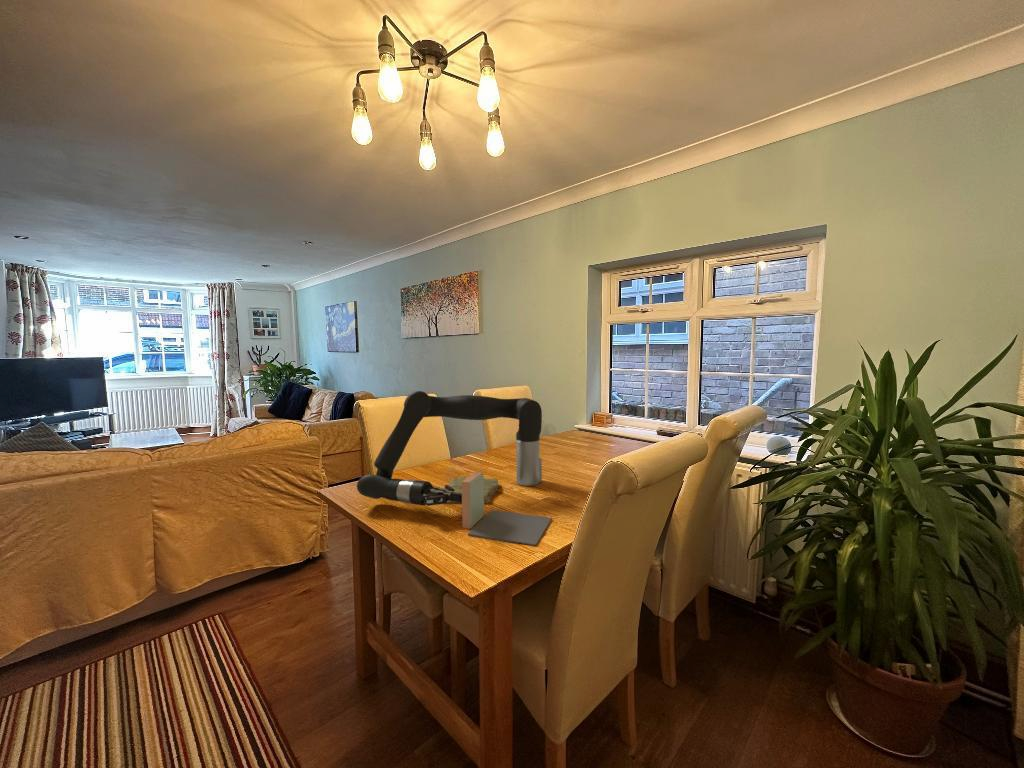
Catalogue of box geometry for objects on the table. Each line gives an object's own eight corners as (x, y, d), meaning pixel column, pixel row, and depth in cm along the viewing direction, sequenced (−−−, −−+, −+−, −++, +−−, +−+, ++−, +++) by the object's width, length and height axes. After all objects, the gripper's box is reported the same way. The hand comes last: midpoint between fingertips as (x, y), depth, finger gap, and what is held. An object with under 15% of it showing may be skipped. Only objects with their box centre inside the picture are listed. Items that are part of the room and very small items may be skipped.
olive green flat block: (439, 503, 139) (439, 493, 139) (453, 484, 159) (453, 475, 159) (492, 505, 137) (492, 495, 137) (500, 485, 157) (500, 476, 157)
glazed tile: (462, 527, 119) (461, 481, 118) (476, 514, 129) (475, 471, 127) (470, 529, 118) (470, 482, 117) (484, 515, 128) (483, 472, 127)
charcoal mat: (467, 535, 114) (467, 533, 114) (491, 511, 131) (491, 509, 131) (535, 546, 108) (535, 544, 108) (551, 519, 124) (551, 517, 124)
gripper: (402, 487, 123) (452, 493, 118) (425, 474, 136) (472, 479, 130) (403, 511, 124) (453, 518, 118) (425, 496, 136) (472, 502, 131)
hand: (463, 498), depth 124 cm, fingers closed
